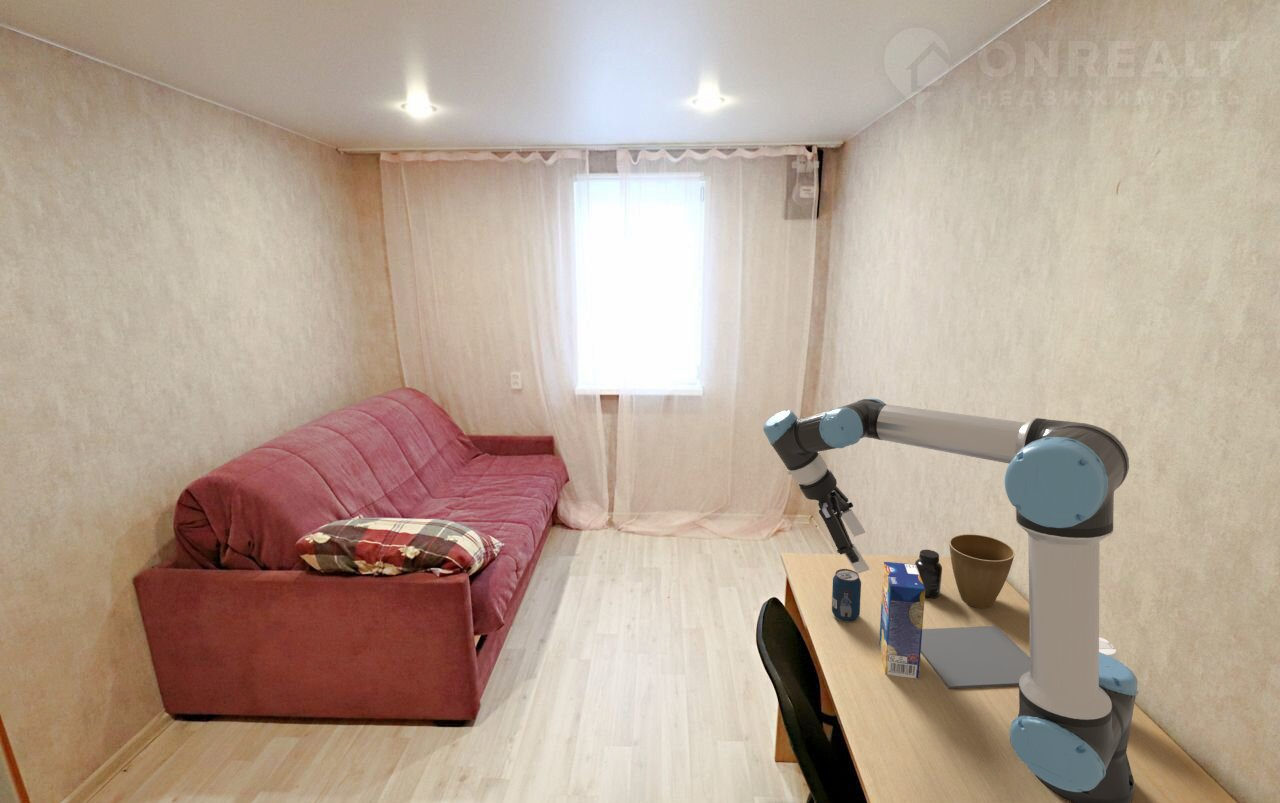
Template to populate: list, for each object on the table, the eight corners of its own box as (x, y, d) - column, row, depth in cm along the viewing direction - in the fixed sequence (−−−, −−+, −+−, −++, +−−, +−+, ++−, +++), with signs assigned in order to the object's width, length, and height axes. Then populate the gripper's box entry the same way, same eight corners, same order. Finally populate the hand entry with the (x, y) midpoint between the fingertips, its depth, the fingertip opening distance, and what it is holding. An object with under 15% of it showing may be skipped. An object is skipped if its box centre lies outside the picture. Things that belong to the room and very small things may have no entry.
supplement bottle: (907, 590, 161) (909, 550, 159) (924, 583, 164) (927, 545, 161) (928, 601, 155) (931, 561, 152) (945, 595, 158) (949, 555, 155)
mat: (1054, 683, 123) (1054, 681, 123) (948, 688, 123) (948, 686, 123) (996, 627, 143) (996, 625, 143) (905, 632, 143) (905, 630, 143)
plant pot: (941, 582, 164) (945, 531, 161) (1000, 590, 159) (1006, 537, 156) (949, 611, 150) (954, 556, 147) (1015, 620, 145) (1021, 563, 142)
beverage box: (909, 648, 137) (915, 564, 132) (918, 679, 127) (925, 589, 122) (879, 644, 139) (883, 561, 134) (885, 674, 128) (890, 586, 124)
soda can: (849, 606, 154) (851, 566, 152) (865, 621, 148) (867, 579, 145) (826, 610, 153) (827, 569, 151) (840, 625, 146) (842, 583, 144)
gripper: (799, 456, 136) (843, 525, 140) (794, 513, 114) (847, 593, 118) (828, 443, 133) (873, 514, 136) (829, 499, 111) (882, 582, 114)
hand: (861, 551), depth 127 cm, fingers open, 13 cm apart
